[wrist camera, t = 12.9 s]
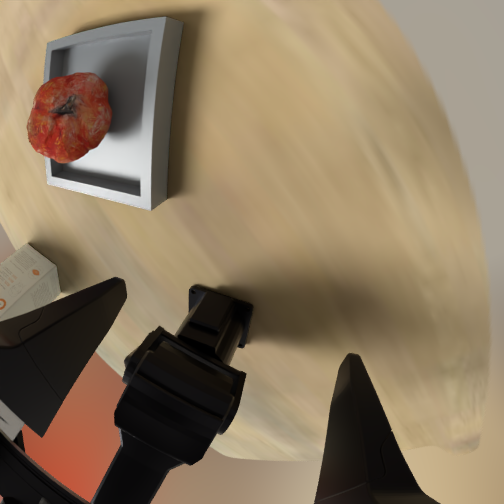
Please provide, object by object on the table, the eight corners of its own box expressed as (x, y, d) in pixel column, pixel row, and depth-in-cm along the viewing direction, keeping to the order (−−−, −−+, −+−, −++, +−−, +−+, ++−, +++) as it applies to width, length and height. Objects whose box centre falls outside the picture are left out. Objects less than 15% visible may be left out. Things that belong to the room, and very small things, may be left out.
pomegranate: (103, 151, 25) (123, 160, 18) (35, 164, 20) (22, 179, 13) (104, 80, 21) (126, 56, 14) (34, 89, 17) (22, 68, 10)
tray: (166, 199, 24) (151, 210, 22) (63, 176, 26) (47, 184, 24) (183, 22, 16) (166, 16, 13) (65, 42, 18) (47, 42, 16)
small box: (32, 270, 38) (-18, 315, 28) (27, 241, 35) (-31, 287, 24) (62, 294, 38) (10, 347, 27) (57, 265, 34) (-4, 320, 24)
